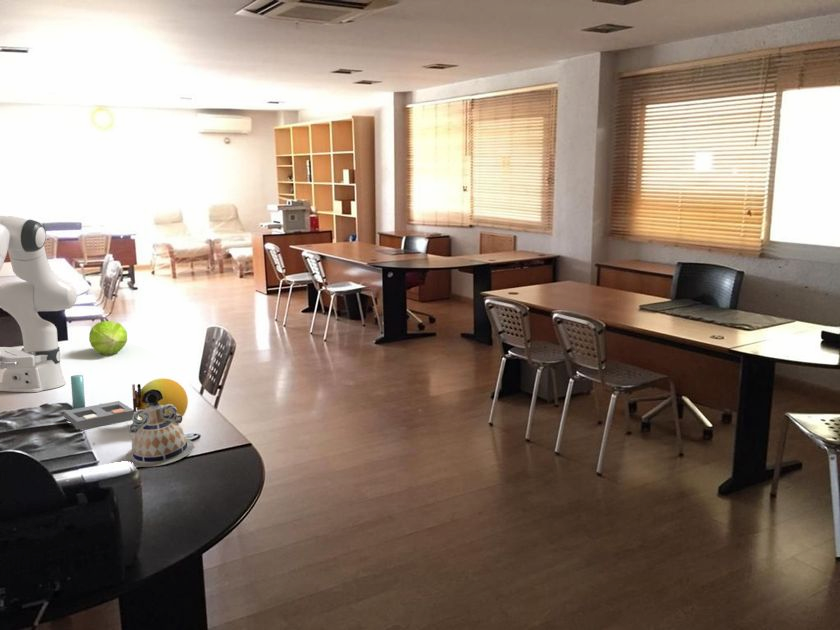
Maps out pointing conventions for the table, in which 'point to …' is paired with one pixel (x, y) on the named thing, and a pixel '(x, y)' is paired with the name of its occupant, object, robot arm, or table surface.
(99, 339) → the lettuce
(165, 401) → the emoji
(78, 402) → the teal rounded cylinder
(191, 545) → the table surface
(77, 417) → the socket board
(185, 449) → the figurine
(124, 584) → the table surface
